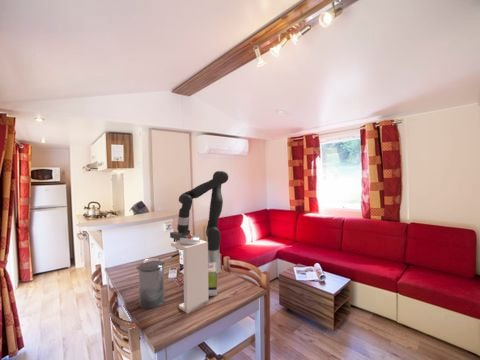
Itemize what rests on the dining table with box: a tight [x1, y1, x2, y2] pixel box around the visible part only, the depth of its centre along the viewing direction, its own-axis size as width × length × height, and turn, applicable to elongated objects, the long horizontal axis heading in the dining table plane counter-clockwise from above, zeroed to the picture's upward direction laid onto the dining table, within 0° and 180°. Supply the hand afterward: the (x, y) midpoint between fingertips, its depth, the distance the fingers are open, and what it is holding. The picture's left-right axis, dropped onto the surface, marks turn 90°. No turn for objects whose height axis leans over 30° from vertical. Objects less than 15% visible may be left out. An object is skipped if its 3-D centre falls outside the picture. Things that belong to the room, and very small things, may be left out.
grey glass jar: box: [137, 261, 165, 310], centre depth 127 cm, size 14×14×21 cm
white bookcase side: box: [170, 239, 210, 314], centre depth 126 cm, size 15×14×34 cm
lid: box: [169, 231, 201, 245], centre depth 130 cm, size 24×11×4 cm, turn 47°
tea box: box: [208, 262, 218, 297], centre depth 141 cm, size 15×10×15 cm, turn 5°
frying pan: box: [142, 252, 180, 264], centre depth 187 cm, size 32×13×6 cm, turn 128°
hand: (181, 246), depth 155 cm, fingers open, 8 cm apart
